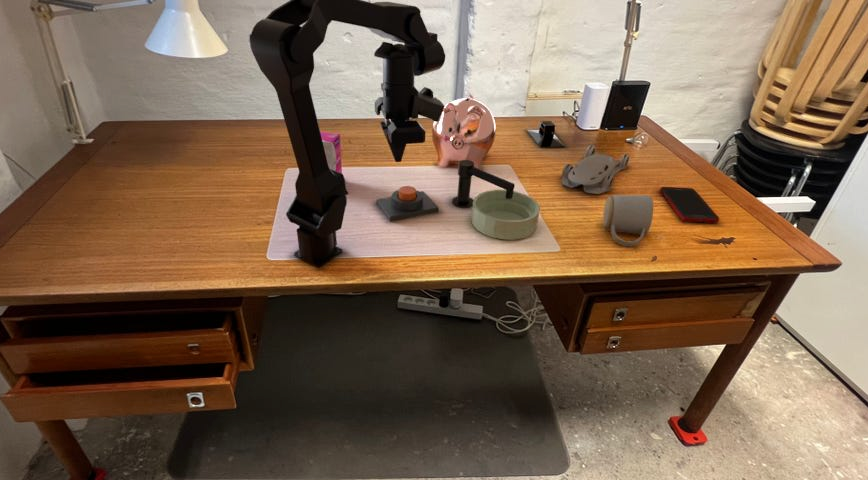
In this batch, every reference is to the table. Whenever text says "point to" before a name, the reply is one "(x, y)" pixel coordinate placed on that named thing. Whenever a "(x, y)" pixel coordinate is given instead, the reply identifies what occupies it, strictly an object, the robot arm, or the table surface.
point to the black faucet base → (463, 194)
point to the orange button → (407, 193)
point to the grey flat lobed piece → (593, 172)
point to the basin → (505, 214)
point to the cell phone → (689, 205)
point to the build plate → (546, 136)
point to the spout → (484, 176)
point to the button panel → (406, 206)
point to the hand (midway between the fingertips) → (397, 161)
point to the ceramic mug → (628, 216)
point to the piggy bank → (463, 132)
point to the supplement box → (332, 150)
